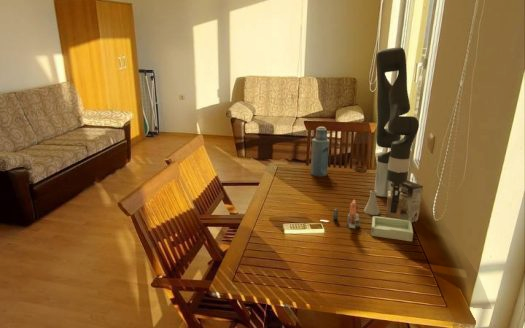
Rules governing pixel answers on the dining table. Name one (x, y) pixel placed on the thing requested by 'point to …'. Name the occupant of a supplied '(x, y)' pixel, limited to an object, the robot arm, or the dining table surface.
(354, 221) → the crank
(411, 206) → the coffee box
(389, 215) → the block
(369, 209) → the flask
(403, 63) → the robot arm
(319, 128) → the bottle
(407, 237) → the tray
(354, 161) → the place setting
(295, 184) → the dining table surface
